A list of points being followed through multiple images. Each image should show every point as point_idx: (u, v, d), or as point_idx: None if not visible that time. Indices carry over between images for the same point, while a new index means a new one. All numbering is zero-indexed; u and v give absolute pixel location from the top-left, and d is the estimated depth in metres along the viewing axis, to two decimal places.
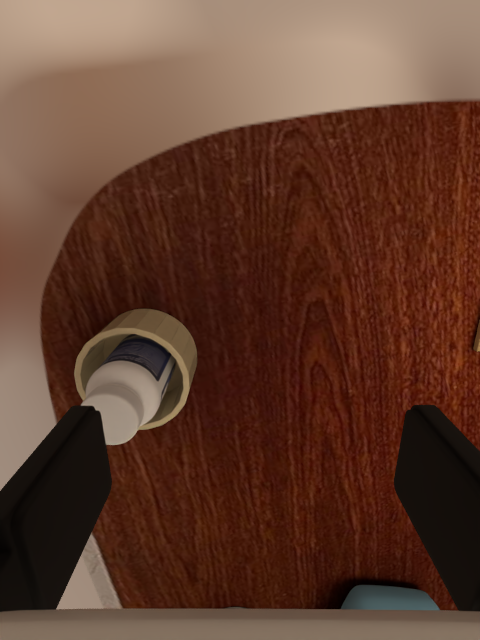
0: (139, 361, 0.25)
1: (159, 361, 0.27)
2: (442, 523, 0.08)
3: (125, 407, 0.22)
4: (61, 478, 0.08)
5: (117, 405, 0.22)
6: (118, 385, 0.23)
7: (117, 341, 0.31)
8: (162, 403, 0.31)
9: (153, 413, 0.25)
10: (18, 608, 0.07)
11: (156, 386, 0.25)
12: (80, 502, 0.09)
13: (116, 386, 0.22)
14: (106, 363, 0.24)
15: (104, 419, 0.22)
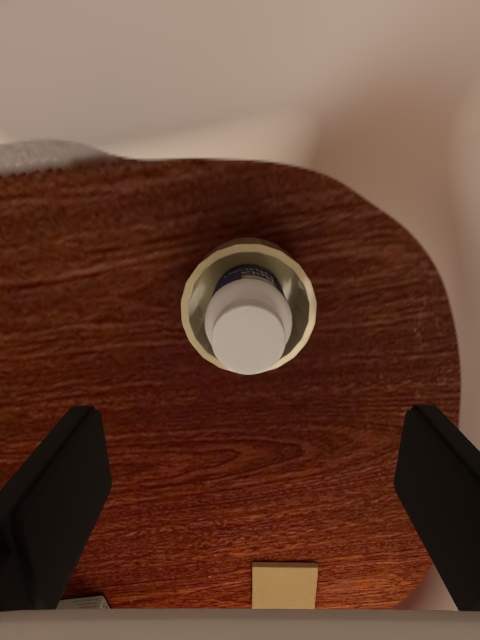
0: None
1: None
2: (442, 523, 0.08)
3: (266, 363, 0.18)
4: (61, 478, 0.08)
5: (270, 354, 0.18)
6: None
7: (267, 262, 0.26)
8: (199, 321, 0.26)
9: None
10: (18, 608, 0.07)
11: None
12: (80, 502, 0.09)
13: None
14: (288, 305, 0.21)
15: (250, 337, 0.18)
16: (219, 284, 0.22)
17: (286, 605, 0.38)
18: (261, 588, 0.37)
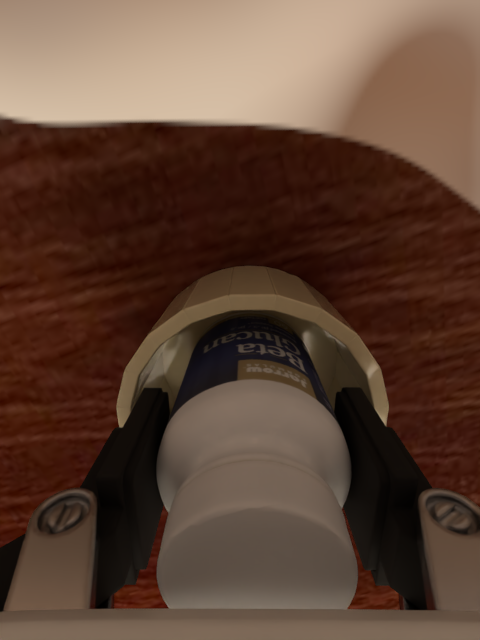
0: None
1: None
2: (354, 489, 0.09)
3: None
4: (150, 448, 0.09)
5: None
6: None
7: None
8: None
9: None
10: (126, 557, 0.08)
11: None
12: None
13: None
14: (342, 432, 0.09)
15: (262, 576, 0.07)
16: (193, 371, 0.11)
17: None
18: None
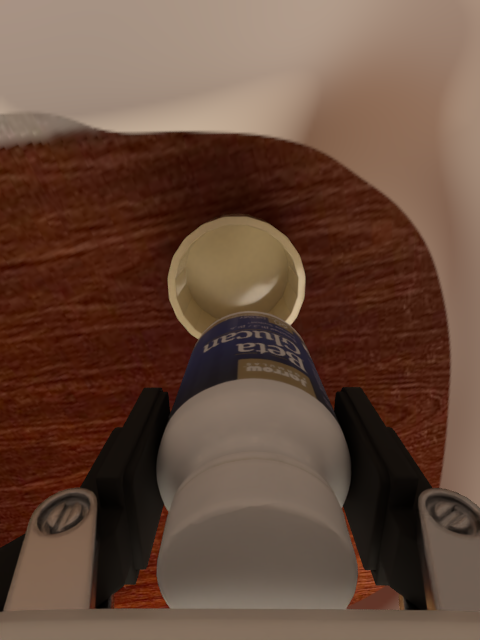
0: None
1: None
2: (354, 489, 0.09)
3: None
4: (150, 448, 0.09)
5: None
6: None
7: (255, 239, 0.26)
8: (187, 299, 0.25)
9: None
10: (126, 557, 0.08)
11: None
12: None
13: None
14: None
15: (262, 575, 0.07)
16: (193, 370, 0.11)
17: None
18: None
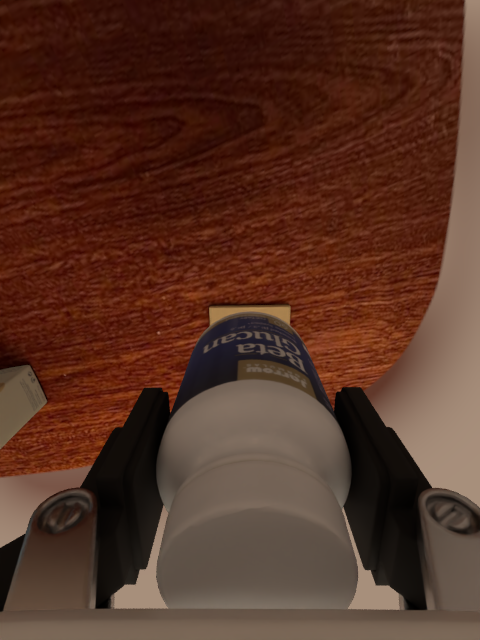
0: None
1: None
2: (354, 489, 0.09)
3: None
4: (150, 448, 0.09)
5: None
6: None
7: None
8: None
9: None
10: (126, 557, 0.08)
11: None
12: None
13: None
14: (342, 432, 0.09)
15: (261, 577, 0.07)
16: (193, 371, 0.11)
17: None
18: None
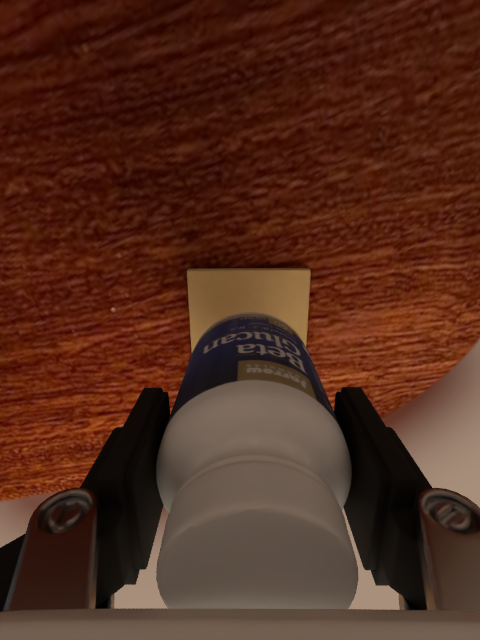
0: None
1: None
2: (354, 489, 0.09)
3: None
4: (150, 448, 0.09)
5: None
6: None
7: None
8: None
9: None
10: (126, 557, 0.08)
11: None
12: None
13: None
14: (342, 432, 0.09)
15: (262, 577, 0.07)
16: (193, 372, 0.11)
17: None
18: (206, 323, 0.20)
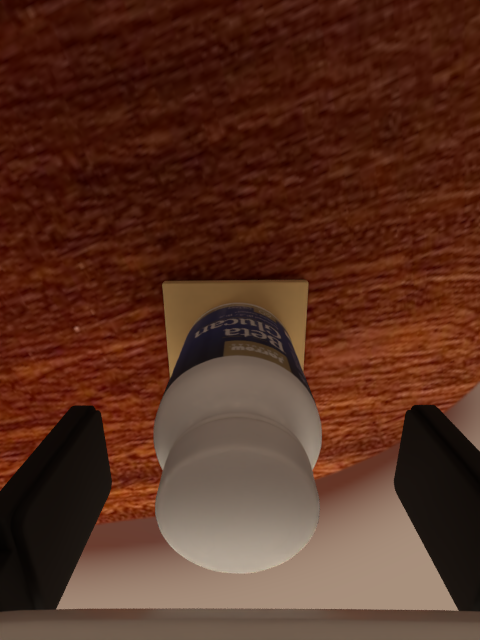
0: None
1: None
2: (442, 523, 0.08)
3: (277, 554, 0.08)
4: (61, 478, 0.08)
5: (286, 539, 0.08)
6: None
7: None
8: None
9: None
10: (18, 608, 0.07)
11: None
12: (80, 502, 0.09)
13: None
14: (314, 401, 0.11)
15: (241, 509, 0.08)
16: (185, 353, 0.12)
17: None
18: None
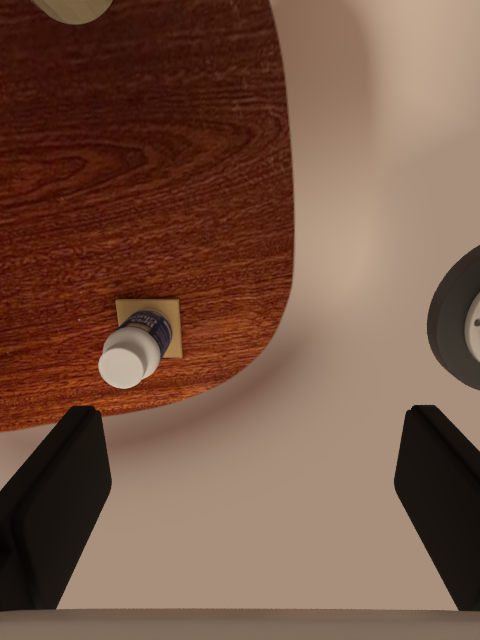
0: (159, 362, 0.34)
1: None
2: (442, 523, 0.08)
3: (133, 381, 0.30)
4: (61, 478, 0.08)
5: (135, 376, 0.30)
6: (146, 368, 0.31)
7: None
8: None
9: None
10: (18, 608, 0.07)
11: None
12: (80, 502, 0.09)
13: (146, 368, 0.31)
14: (157, 343, 0.32)
15: (121, 366, 0.30)
16: None
17: None
18: None
